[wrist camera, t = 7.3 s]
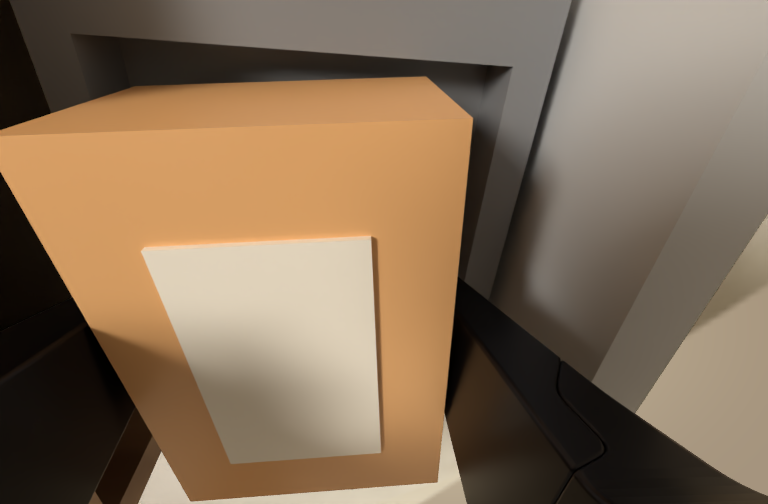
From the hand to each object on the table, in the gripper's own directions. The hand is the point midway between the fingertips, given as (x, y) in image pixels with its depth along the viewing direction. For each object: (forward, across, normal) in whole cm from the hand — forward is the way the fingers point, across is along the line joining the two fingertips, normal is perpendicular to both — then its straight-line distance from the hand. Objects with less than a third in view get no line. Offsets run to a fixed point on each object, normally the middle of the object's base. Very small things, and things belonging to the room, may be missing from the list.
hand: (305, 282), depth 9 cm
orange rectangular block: (+1, 0, 0) cm, 1 cm away
